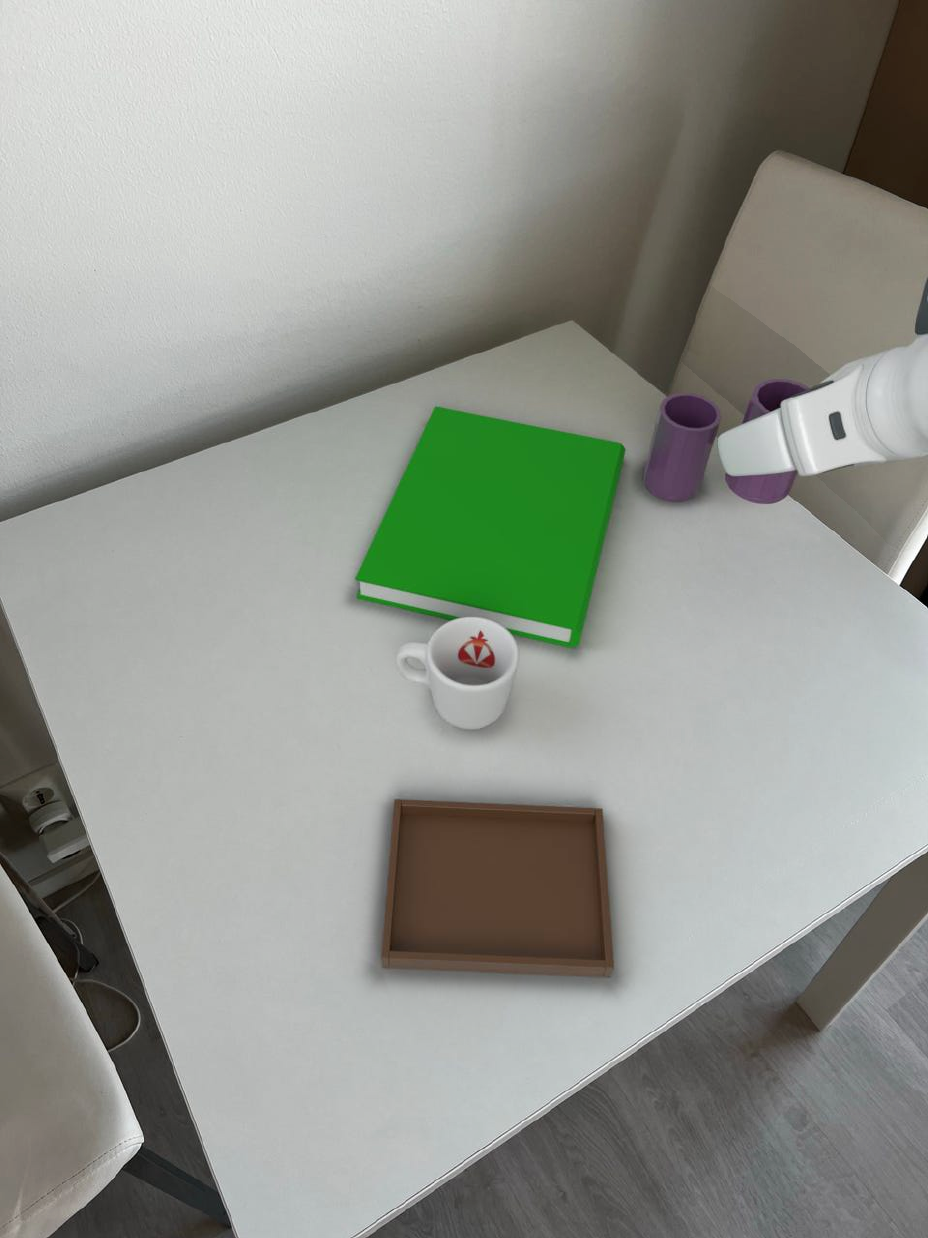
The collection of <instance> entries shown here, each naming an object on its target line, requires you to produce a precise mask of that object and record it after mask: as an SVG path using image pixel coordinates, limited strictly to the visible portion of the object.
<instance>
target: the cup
mask: <svg viewBox="0 0 928 1238" xmlns="http://www.w3.org/2000/svg"><path fill="white" fill-rule="evenodd" d="M520 654H521V653H520V648H519V644H518V642H517V640H516V639H515V637H514V635H513V634H511V633H510V632H509V631H508V630H507V629H506V628H504V627H503V626H502V625H500V624H498V623H496V622H494V621H492V620H489V619H486V618H481V617H463V618H458V619H454V620H449V621H447V622H445V623H443V624H442V625H440V626H439V627H438V628H436V630H435V631H434V632H433V634H431V637H430V638H429V641H428V642H426V643H425V642H418V641H411V642H410V641H409V642H406V643H404V644H402V645H401V646H400V648H398V651H397V654H396V658H395V663H396V667H397V670H398V672H399V674H400V675H401V676H402V677H403V678H404V679H406V680H408V681H410V682H412V683H416V684H421V685H424V686H428V687H429V688H430V691H431V696H432V701H433V705H434V707H435V709H436V712H437V713H438V715H439V716H440V717H441V719H443V720H444V721H445V722H447V723H448V724H449V725H451V726H453V727H455V728H458V729H461V730H471V731H472V730H479V729H482V728H486V727H488V726H489V725H491V724H493V723H495V721H496V720H498V719H499V717H500V716H501V715H502V714H503V712H504V710H505V708H506V706H507V703H508V700H509V696H510V694H511V691H512V688H513V685H514V680H515V678H516V674H517V671H518V668H519V664H520V658H521V657H520ZM408 658H413V659H416V660H419V661H420V662H421V663H423V665H424V667H425V668H424V669H419V668H416V667H414V666H412V665H411V664H410V663H409V661H408Z"/></svg>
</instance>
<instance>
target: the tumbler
mask: <svg viewBox="0 0 928 1238" xmlns="http://www.w3.org/2000/svg"><path fill="white" fill-rule="evenodd" d="M721 421H722V412H721V409H720V407H719V406H718V405H717V404H716V403H715V402H714V401H713V400H711V399H709V398H707V396H703V395H701V394H698V393H697V394H696V393H693V392H678V393H673V394H670V395H668V396H666V397H665V398H664V399H663V400H662V401H661V403H660V405H659V408H658V413H657V417H656V420H655V425H654V428H653V432H652V436H651V441H650V444H649V449H648V452H647V457H646V461H645V464H644V465H645V466H644V470H643V475H642V482H643V485H644V487H645V489H646V490H647V491H648V493H650V495H653V496H654V497H656V498H658V499H660V500H662V501H667V502H671V503H672V502H673V503H674V502H675V503H676V502H677V503H678V502H679V503H680V502H685V501H689V500H691V499H692V498H694V497H695V496H696V495H697V494H698V493H699V490H700V487H701V485H702V482H703V479H704V475H705V472H706V469H707V466H708V462H709V461H710V460H709V459H710V456H711V453H712V450H713V447H714V443H715V441H716V437H717V434H718V430H719V427H720V424H721Z"/></svg>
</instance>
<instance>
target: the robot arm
mask: <svg viewBox="0 0 928 1238" xmlns="http://www.w3.org/2000/svg"><path fill="white" fill-rule="evenodd" d="M920 299H921V300H920V303H919V305H918V308H917V309H918V310H917V314H916V318H915V322H914V323H915V324H914V333H915V334H916V337H915V339H914V340H913V341H912V342H911V343H909V344H907V345H901V346H897V347H894V348H890V349H887V350H884V351H880V352H877V353H874V354H870V355H867V356H863V357H861V358H856V359H854V360H851V361H849V362H847V363H845V364H844V365H842V366H841V367H840V368H839V369H838V370H837V371H835V372H834V373H832V374H830V375H829V376H828V377H827V378H825V379H823V380H822V381H820V382H819V383H818V384H815V385H813V386H811V387H809V389H807V390H805V391H803V392H801V393H798V394H796V395H793V396H792V397H791V398H788V399H786V400H783V401H782V402H781V408H779V409H776V410H774V411H772V412H769V413H767V414H765V415H763V416H760V417H758V418H756V419H753V420H751V421H748V422H746V423H744V424H742V423H741V424H739V425H737V426H735V427H732V428H730V429H728V430H726V431H724V432H722V433H721V434H720V435H719V436H718V438H717V448H718V449H717V450H718V453H719V458H720V461H721V464H722V467H723V470H724V471H725V473H726V472H727V473H728V474H729V475H731V476H749V475H763V474H774V473H782V472H788V471H794V470H797V471H798V473H797V474H798V475H799V476H800V477H809V476H814V475H820V474H825V473H828V472H831V471H835V470H839V469H843V468H847V467H865V466H872V465H880V464H885V463H892V462H893V463H894V462H899V461H905V460H910V459H917V458H921V457H926V456H928V277H926V281H925V284H924V287H923V292H922V295H921V298H920Z"/></svg>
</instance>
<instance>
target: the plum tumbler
mask: <svg viewBox="0 0 928 1238" xmlns="http://www.w3.org/2000/svg"><path fill="white" fill-rule="evenodd" d="M809 388H810V387H809V386H807V385H806V384H804V383H802V382H798V381H795V380H791V379H786V378H771V379H766V380H762V381H761V382H759V383H758V384H756V385H755V386H754V387H753V390H752V392H751V395H750V398H749V401H748V404H747V407H746V410H745V413H744V416H743V419H742V422H741V424H744V423H746V422H748V421H751V420H753V419H756V418H758V417H760V416H763V415H765V414H767V413H769V412H772V411H774V410H776V409H779V408H781V402H782V401H783V400H786V399H788V398H791V397H792V396H793V395H796V394H798V393H801V392H803V391H805V390H807V389H809ZM798 474H799V473H798V471H797V470H794V471H788V472H782V473H774V474H763V475H749V476H731V475H729V474H728V473H727V472H726V471H725V478H724V479H725V482H726V485H727V487H728V488H729V490H730V491H731V492H733V494H734V495H736V496H737V497H739V498H741V499H743V500H745V501H747V502H750V503H754V504H760V505H771V504H776V503H779V502H781V501H783V500H785V499H786V497H788V496H789V494H790V492H791V490H792V487H793V485H794V482H795V480H796V478H797V475H798Z"/></svg>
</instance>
